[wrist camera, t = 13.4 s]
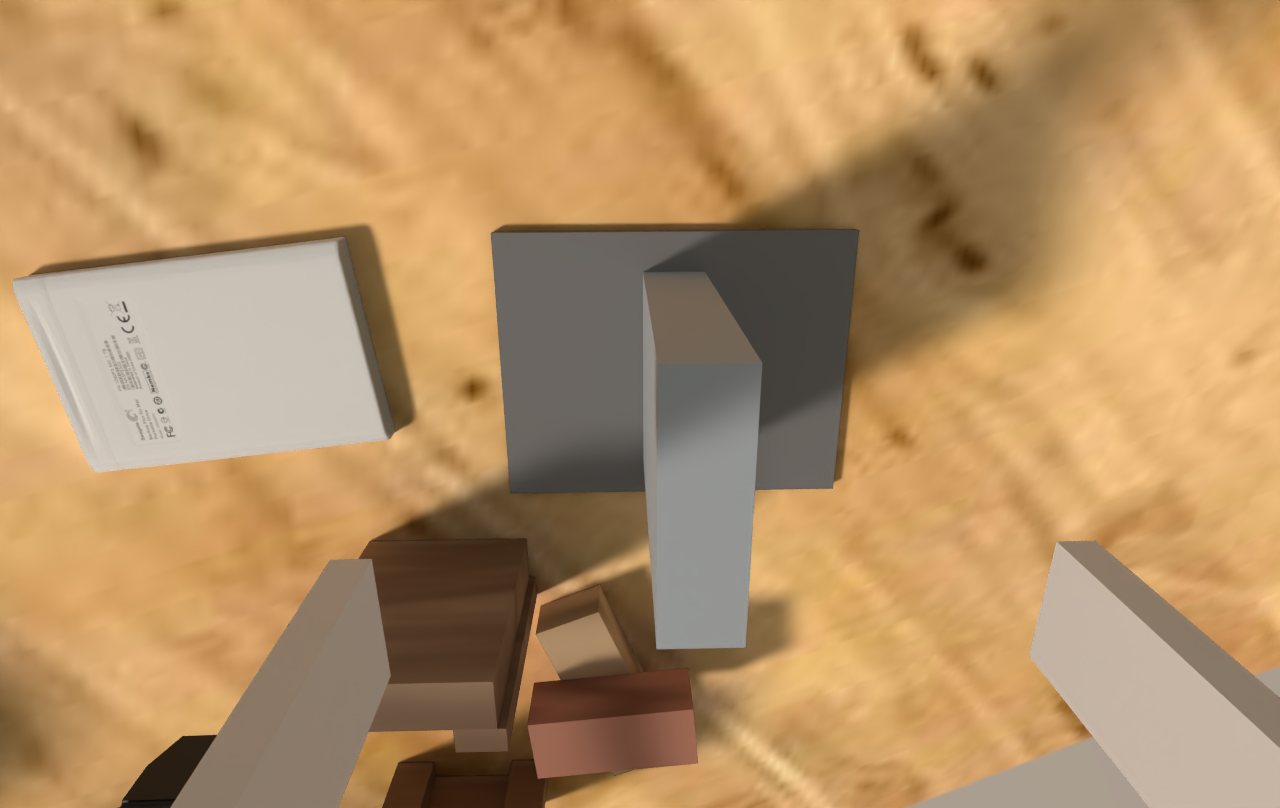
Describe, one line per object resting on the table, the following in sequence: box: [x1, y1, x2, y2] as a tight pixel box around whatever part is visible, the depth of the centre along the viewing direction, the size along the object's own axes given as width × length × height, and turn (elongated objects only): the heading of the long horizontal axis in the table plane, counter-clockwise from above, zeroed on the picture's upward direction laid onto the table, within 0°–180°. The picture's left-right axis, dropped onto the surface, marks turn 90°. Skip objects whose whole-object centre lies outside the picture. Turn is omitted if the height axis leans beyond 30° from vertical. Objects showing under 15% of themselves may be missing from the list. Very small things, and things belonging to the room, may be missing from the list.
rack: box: [359, 539, 548, 808], centre depth 31 cm, size 16×8×9 cm, turn 0°
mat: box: [491, 229, 859, 493], centre depth 29 cm, size 11×14×1 cm
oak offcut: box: [536, 585, 644, 776], centre depth 34 cm, size 9×3×2 cm, turn 22°
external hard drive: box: [13, 237, 395, 472], centre depth 29 cm, size 2×8×12 cm
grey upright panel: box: [643, 272, 762, 649], centre depth 23 cm, size 8×2×12 cm, turn 0°
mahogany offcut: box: [527, 668, 698, 779], centre depth 32 cm, size 7×3×2 cm, turn 96°
